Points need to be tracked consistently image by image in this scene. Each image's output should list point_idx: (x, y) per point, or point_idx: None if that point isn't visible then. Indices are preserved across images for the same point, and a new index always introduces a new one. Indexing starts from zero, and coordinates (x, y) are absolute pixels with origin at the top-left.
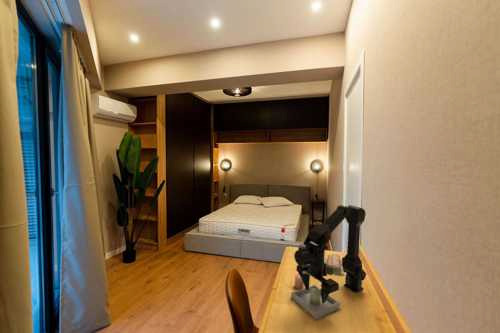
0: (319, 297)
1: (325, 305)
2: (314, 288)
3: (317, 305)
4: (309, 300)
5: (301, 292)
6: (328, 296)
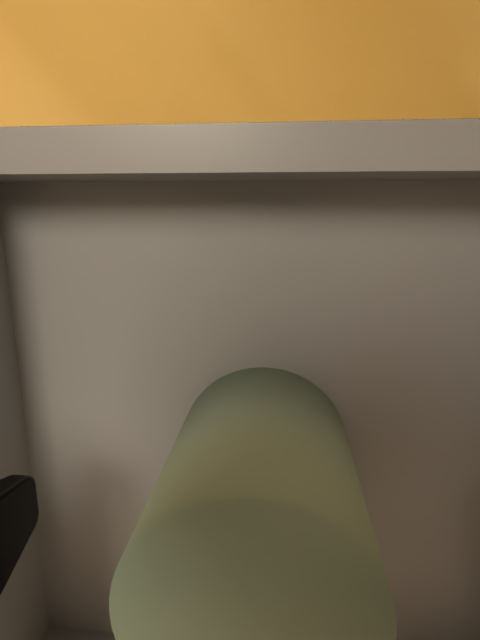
0: (364, 504)
1: (421, 351)
2: (158, 565)
3: None
4: None
5: None
6: (366, 172)
